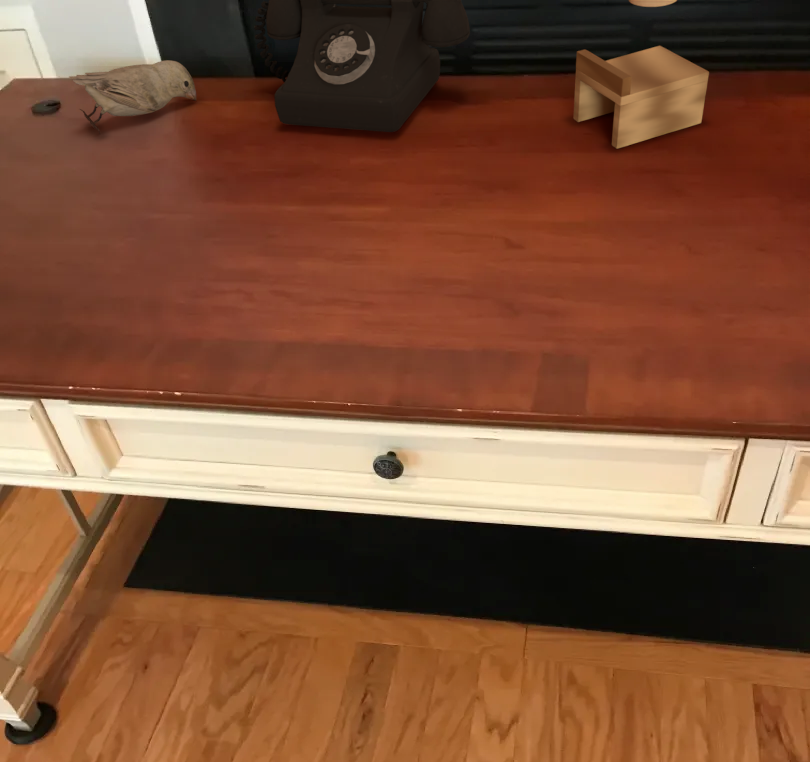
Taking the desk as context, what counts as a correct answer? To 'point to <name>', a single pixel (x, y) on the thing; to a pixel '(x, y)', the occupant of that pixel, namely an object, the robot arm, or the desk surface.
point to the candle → (652, 2)
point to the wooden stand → (640, 93)
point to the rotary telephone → (359, 58)
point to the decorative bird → (136, 88)
